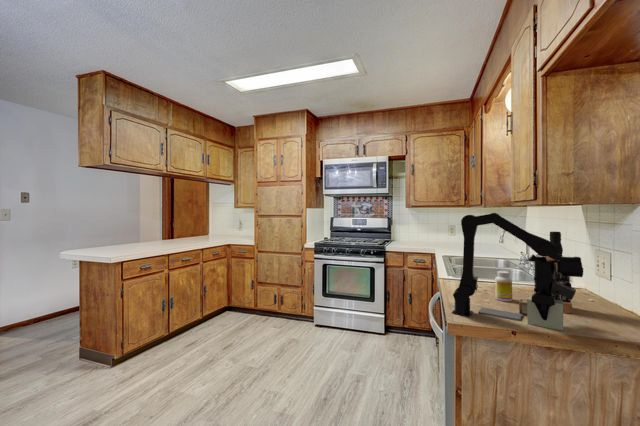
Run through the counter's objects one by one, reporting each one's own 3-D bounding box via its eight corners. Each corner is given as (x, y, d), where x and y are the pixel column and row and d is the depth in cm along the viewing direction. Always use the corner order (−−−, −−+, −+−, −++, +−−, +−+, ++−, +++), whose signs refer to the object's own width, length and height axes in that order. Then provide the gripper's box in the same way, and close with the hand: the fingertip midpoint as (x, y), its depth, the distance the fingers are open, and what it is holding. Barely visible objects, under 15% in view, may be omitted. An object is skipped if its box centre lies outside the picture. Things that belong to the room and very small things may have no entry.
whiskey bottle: (572, 314, 116) (571, 232, 116) (541, 309, 123) (539, 232, 123) (571, 307, 125) (570, 231, 124) (542, 303, 131) (540, 230, 131)
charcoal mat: (519, 320, 110) (519, 319, 110) (478, 313, 120) (478, 311, 120) (522, 315, 116) (522, 314, 116) (482, 308, 125) (482, 307, 125)
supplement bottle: (515, 302, 133) (514, 273, 133) (498, 301, 134) (498, 273, 134) (508, 298, 139) (508, 270, 139) (493, 297, 140) (492, 270, 140)
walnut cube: (534, 317, 114) (534, 304, 114) (519, 314, 117) (519, 301, 117) (536, 313, 118) (535, 300, 118) (521, 311, 121) (520, 298, 121)
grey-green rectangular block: (563, 330, 101) (562, 304, 101) (527, 323, 108) (527, 299, 108) (563, 326, 105) (562, 301, 105) (528, 320, 111) (528, 296, 111)
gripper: (574, 282, 94) (575, 331, 94) (573, 272, 108) (574, 315, 108) (531, 278, 101) (531, 323, 101) (535, 269, 115) (536, 309, 115)
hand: (545, 318), depth 106 cm, fingers closed on grey-green rectangular block, 4 cm apart
